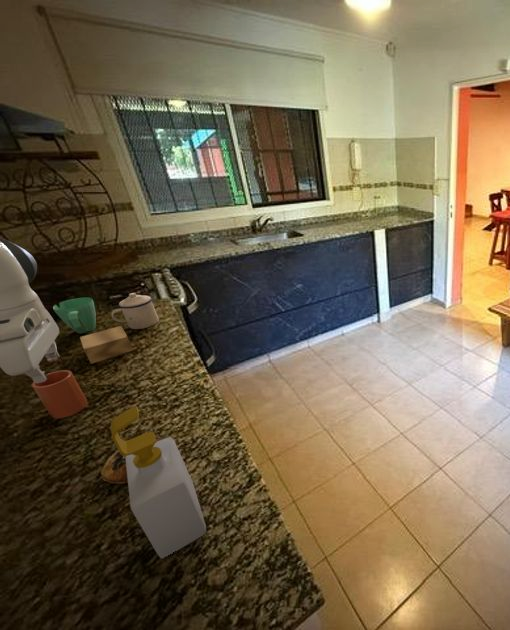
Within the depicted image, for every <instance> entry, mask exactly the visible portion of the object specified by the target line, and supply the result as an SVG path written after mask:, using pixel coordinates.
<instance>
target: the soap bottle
mask: <svg viewBox="0 0 510 630" xmlns="http://www.w3.org/2000/svg"><path fill="white" fill-rule="evenodd" d="M139 418H140V412H139V407H138V406H137V405H134V406H131V407H130V408H128V409H127V410H125V411H123V412H121V413H120V414H118V415H117V416H115V417H114V418H113V419H112V420H111V421H110V431H111V439H112V441H113V443H114V446H115V447H116V448H117V450H119V452H120V454H121V455H122V456H126V469H127V478H128V483H127V486H128V495H129V497H128V498H129V505H130V511H131V512H132V514H133V515H134V517H135V519H136V520H137V522H138V524H139V526H140V528H141V529H142V530H143V532H144V534H145V535H146V538H147V539H148V541H149V542H150V544H151V546H152V548H153V549H154V551H155V553H156V554H157V556H158V557H159V558H160V559H162V558H163V559H165V558H164V557H166V556H167V557H169V556H171V555H172V554H174V553H176V552H177V551H180V550H181V549H182V548H184V547H186V546H187V545H190V544H191V543H192V542H194V541H196V540H198V539H199V538H201V537H203V536H204V535H205V534H206V533H207V525H206V521H205V518H204V515H203V511H202V508H201V504H200V501H199V498H198V494H197V492H196V488H195V484H194V482H193V479H192V477H191V475H190V473H189V471H188V468H187V466H186V464H185V461H184V459H183V457H182V455H181V452H180V450H179V448H178V446H177V443H176V441H175V440H174V439H173V438H172V437H171V436H169V437H166V438H163V440H161V441H158V442H156V438H155V435H156V434H155V431H151V430H150V431H147V432H145V433H143V434H141V435H138V436H134V437H133V438H130V439H127V440H124V439H123V438H122V437H121V435H120V433H119V432H120V431H122V430H123V429H124V428H127V427H128V426H129V425H130V424H133V423H134V422H135V421H137V420H138V419H139ZM175 551H176V552H175ZM173 552H174V553H173ZM170 554H171V555H170ZM168 555H169V556H168ZM167 557H166V558H167ZM163 559H162V560H163Z"/></svg>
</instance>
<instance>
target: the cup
mask: <svg viewBox="0 0 510 630" xmlns="http://www.w3.org/2000/svg"><path fill="white" fill-rule="evenodd" d="M46 375H47V376H48V377H47V379H46V381H45V382H41V383H35V382H34V381H33V382H32V383H31V387H32V389H33V390H34V392H35V394H36V395H37V396H38V398H39V400H40V401H41V403H42V404H43V406H44V408H45V409H46V411H47V412H48V414H49V415H50V417H51V418H52V419H64V418H68V417H70V416H73V415H75V414H78V413H79V412H82V410H84V409H85V408H86V407H87V406H88V405H89V402H88V399H87V397H86V396H85V394H84V392H83V390H82V388H81V386H80V385H79V383H78V381H77V379H76V377H75V375H74V374H73V372H72V371H71V370H68V369H64V370H63V369H62V370H61V369H60V370H56V371H52V372H50V373H46Z"/></svg>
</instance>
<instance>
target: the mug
mask: <svg viewBox="0 0 510 630" xmlns="http://www.w3.org/2000/svg"><path fill="white" fill-rule="evenodd" d="M52 309H53V311H54V313H55V314H56V315H57V316H58V317H59V318H60V319H61V320H62V322H64V323H65V324H66V325H67V326H68V327H69V328H70V329H72V331H74V332H76V333H77V334H83V333H90V332H91V331H94V330H95V329H96V326H97V325H96V323H97V317H96V316H97V315H96V307H95V302H94V300H93V298H91V297H77V298H76V297H75V298H72V299H71V298H70V299H67V300H64V301H60V302H59V303H58V305H57V304H54V305H53V306H52Z"/></svg>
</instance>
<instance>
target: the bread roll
mask: <svg viewBox="0 0 510 630" xmlns="http://www.w3.org/2000/svg"><path fill="white" fill-rule="evenodd" d="M155 438H156V442H158V441H161V440H163V439H164V437H161V436H159V435H156V434H155ZM100 474H101V477H102V480H103V481H104V482H108V483H110V484H115V485H117V484H118V485H119V484H120V485H121V484H122V485H123V484H128V478H127V469H126V456H122V455H121V454H120V452H119V450H118V449H117V450H116V451H115V452H114V453H113V454H112V455H111V456H110V457H109V458H108V459H107V460H106V462H105V464H104V466H103V467H102V469H101V472H100Z"/></svg>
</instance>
